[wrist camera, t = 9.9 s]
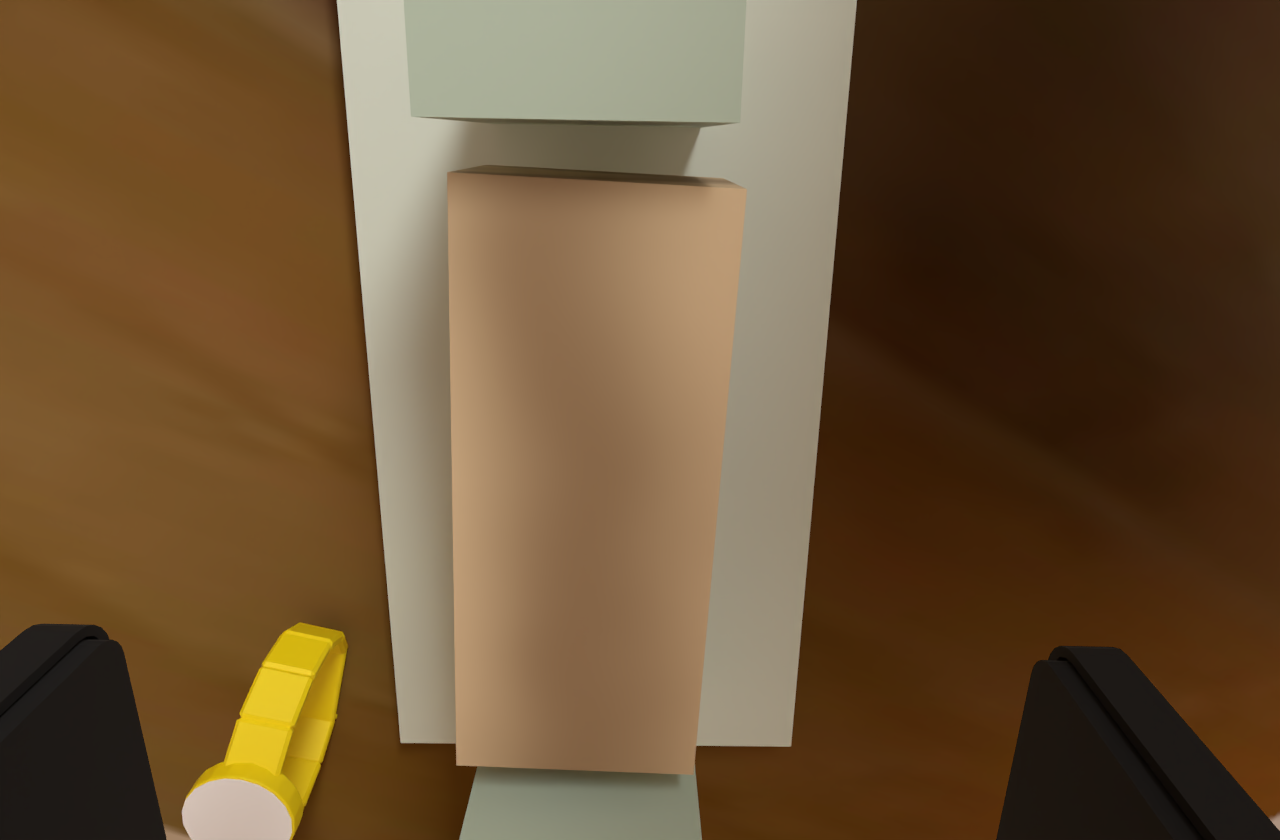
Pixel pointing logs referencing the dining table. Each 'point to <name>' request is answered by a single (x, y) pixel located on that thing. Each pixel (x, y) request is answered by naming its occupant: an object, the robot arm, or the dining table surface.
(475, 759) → the tan wooden bar
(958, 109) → the dining table surface
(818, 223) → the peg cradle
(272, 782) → the watch
